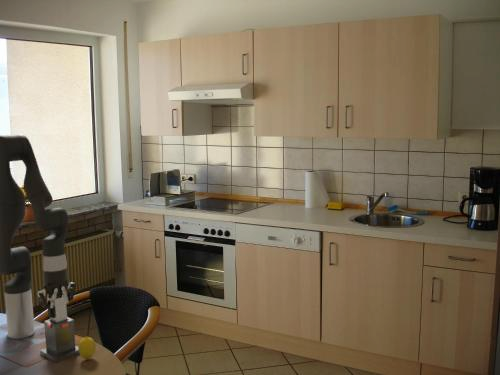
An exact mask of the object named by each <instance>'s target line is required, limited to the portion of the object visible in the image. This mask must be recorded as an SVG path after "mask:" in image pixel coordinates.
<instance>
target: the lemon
mask: <svg viewBox="0 0 500 375" xmlns="http://www.w3.org/2000/svg"><path fill="white" fill-rule="evenodd" d="M96 348H97V346H96V342H95V341H94V339H93V338H92V337H89V336H85V337H83V338H82V339H80V341H79V343H78V349H79V354H78V355H80V357H82V358H83V359H86V360H89V359H91V358H92V357H94V355H95V353H96Z"/></svg>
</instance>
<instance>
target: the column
mask: <svg viewBox="0 0 500 375" xmlns="http://www.w3.org/2000/svg"><path fill="white" fill-rule="evenodd" d="M51 298H52V297H51ZM53 308H54V314H55V318H53V319H52V318H50V317H49V319H50V321H51V322H52V323H54V324H59V323H62V322H65V321H67V317H68V312H67V308H66V296H63V295H62V296H58V297H56V299H54V307H53Z"/></svg>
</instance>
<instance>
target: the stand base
mask: <svg viewBox="0 0 500 375" xmlns="http://www.w3.org/2000/svg"><path fill="white" fill-rule="evenodd" d="M43 322H44V334H45V348H42V349H41V350H39V354H40V355H41V356H43V357H44V358H46V359H48V360H49V361H50V362H52V363H59V362H63V361H64V360H66V359H70V358H73V357H74V355H75V356H77V355H80V354H79V349H78V347H79V345H78V346H77V345H76V336H75V335H76V334H75V320H74V319H73V318H71V317H69V316H67V321H65V322H62V323H59V324H54V323H52V322H51V321H50V318H49V319H46V320H44V321H43Z"/></svg>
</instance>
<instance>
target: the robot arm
mask: <svg viewBox="0 0 500 375" xmlns="http://www.w3.org/2000/svg"><path fill="white" fill-rule="evenodd" d="M18 161H21V162H23V164H24V166H25V175H24V180H23V189H24V192H25V193H24V192H23V190H22V188H21V187H20V185H18V183H17V182H16V180H15V179H14V177H13V175H12V171H11V166H10V165H11V164H10V163H11V162H18ZM25 195H26V196H25ZM26 197H27V199H28V201H29V202H30V204H31V208H32V214H33V219H34V224H35V227H36V228H37V229H38V230H39V231H41V232H49V231H52V233H51V234H49V235H48V236H46V237H45V238H43V239H42V242H41V244H42V269H43V282H44V287H43V289H42V290H40V291H38V290H37V291H36V293H35V295H36V297H37V299H38V301H39V303H40V305H41V307H43V308H45V309H47V315H48V317H49V319H50V318H52V319H53V318H55V314H54V308H53V307H54V299H56V297H58V296H62V295H63V296H66V308H67V313H69V302H70V301H73V300H74V296H75V292H76V288H77V284H76V283H75V282H72V281H68V276H69V275H68V263H67V261H68V260H67V257H66V246H65V240H66V236H67V235H66V234H67V230H68V227H69V215H68V212H67V210H66V209H65V208H64V207H54V208H48V207H49V206H51V205H52V203H53V196H52V194H51V191H50V190H49V188H48V186H47V184H46V182H45V181H44V179H43V176H42V174H41V171H40V167H39V164H38V161H37V158H36V155H35V153H34V148H33V146H32V144H31V141H30V140H29V138H28V137H27V136H26V135H24V134H3V135H0V275H2V276H9V275H14V274H15V275H14V276H13V277H12V278H10V280H8V281H7V282H5V283H4V285H3V290H4V291H3V292H4V302H5V316H6V324H7V337H8V338H9V339H12V340H14V339H15V340H19V339H25V338H28V337H31V336H33V335H34V334H35V320H34V308H33V307H34V306H33V295H32V294H33V293H32V280H33V277H32V276H33V274H32V256H31V253H30V250H29V249H28V248H27V247H26V246H18V247H12V243H13V239H14V237H15V235H16V233H17V231H18V229H19V228H20V226H21V224H22V223H23V221H24V219H25V217H26ZM46 208H47V209H46ZM46 294H47V295H46ZM45 296H47V298H46V297H45ZM51 297H52V298H51Z"/></svg>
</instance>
